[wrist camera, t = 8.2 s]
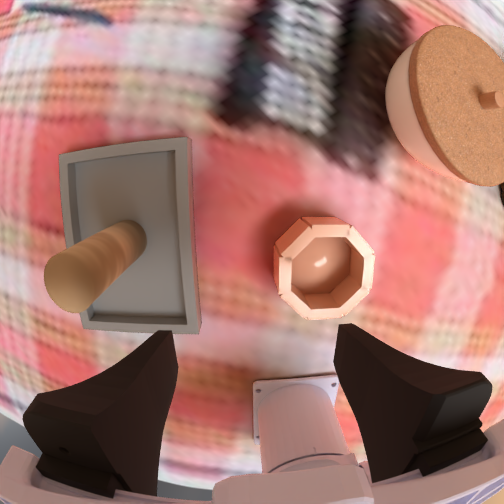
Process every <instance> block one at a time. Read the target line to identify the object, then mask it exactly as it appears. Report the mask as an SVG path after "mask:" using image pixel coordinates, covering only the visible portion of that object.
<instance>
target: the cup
mask: <svg viewBox="0 0 504 504" xmlns="http://www.w3.org/2000/svg"><path fill="white" fill-rule="evenodd" d="M275 244H276V245H274V280H275V284H276V287H277V290H278V294H279V296H280V298H282V299H283V300H284V301H285V302H286V303H287V304H288V305H289V306H291V307H292V308H293V309H294V310H295V311H296V312H297V313H298V314H299V315H301V316H302V317H303V318H304V319H306V318H307V320H317V319H331V318H342V315H343V316H345V315H346V314H347V313H349V312H350V311H351V310H352V309H353V308H354V307H355V306H356V305H357V304H358V303H359V302H360V301H361V300H362V299H363V298H364V297H365V296H366V295H367V294H368V293H369V292H370V291H369V290H368V289H371V288H372V280H373V272H374V263H375V254H373V253H374V251H373V250H372V248H371V247H370V246H369V245H368V244H367V242H366V241H365V240H364V239H363V238H362V236H361V235H360V234H359V233H358V232H357V231H356V229H355V228H354V227H353V226H352V225H350V224H348V223H346V222H344V221H342V220H340V219H338V218H336V217H302V220H301V219H300V218H299V219H298V220H297V221H296V222H295V223H294V224H293V225H292V226H291V227H290V228H289V229H288V230H287V231H286V232H285V233H284V234H283V235H282V236H281V237H280V238H279V239H278V240H277V241H276V242H275Z"/></svg>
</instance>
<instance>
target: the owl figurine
mask: <svg viewBox="0 0 504 504" xmlns="http://www.w3.org/2000/svg"><path fill="white" fill-rule="evenodd" d="M500 187H501V188H502V189H503V193H501V198H502V202H503V205H504V182H503V183H501V184H500Z"/></svg>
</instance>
